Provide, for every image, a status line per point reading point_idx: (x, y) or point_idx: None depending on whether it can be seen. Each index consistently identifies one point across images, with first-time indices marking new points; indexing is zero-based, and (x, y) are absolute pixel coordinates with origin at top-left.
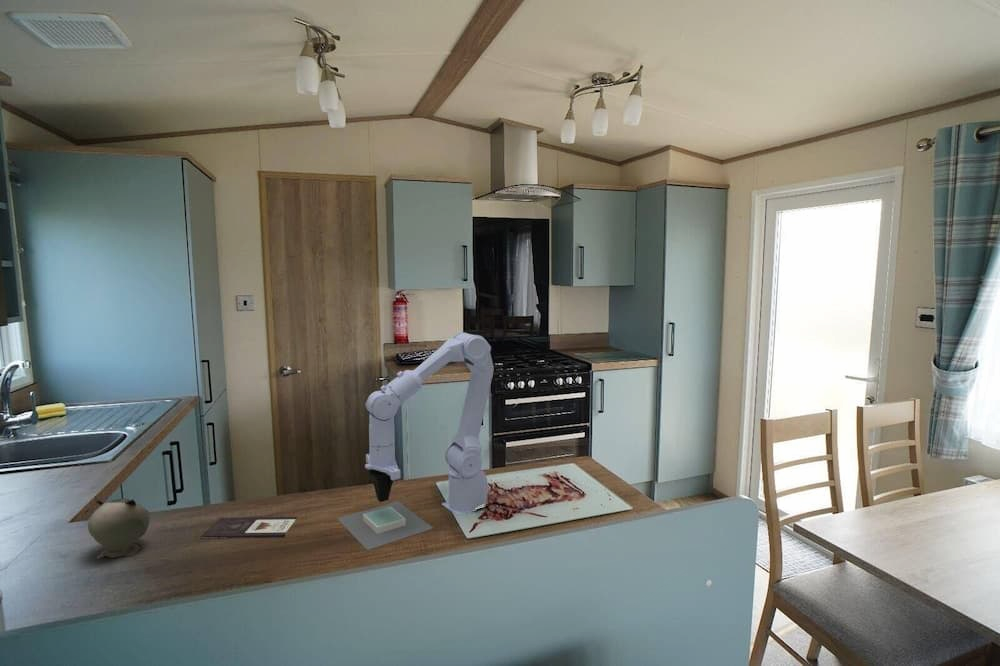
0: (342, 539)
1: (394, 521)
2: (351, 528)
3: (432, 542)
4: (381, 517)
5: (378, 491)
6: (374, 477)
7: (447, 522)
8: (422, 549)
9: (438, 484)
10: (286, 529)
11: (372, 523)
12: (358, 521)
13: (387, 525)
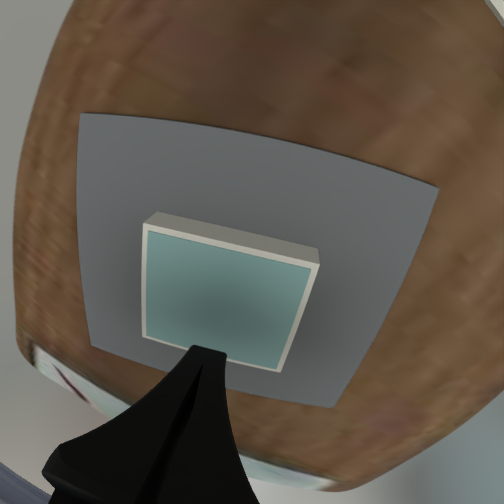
0: (250, 84)
1: (144, 300)
2: (294, 164)
3: (42, 292)
4: (213, 293)
5: (155, 388)
6: (67, 466)
7: (116, 383)
8: (24, 251)
9: (319, 479)
10: (498, 5)
11: (195, 233)
12: (329, 230)
13: (144, 266)
